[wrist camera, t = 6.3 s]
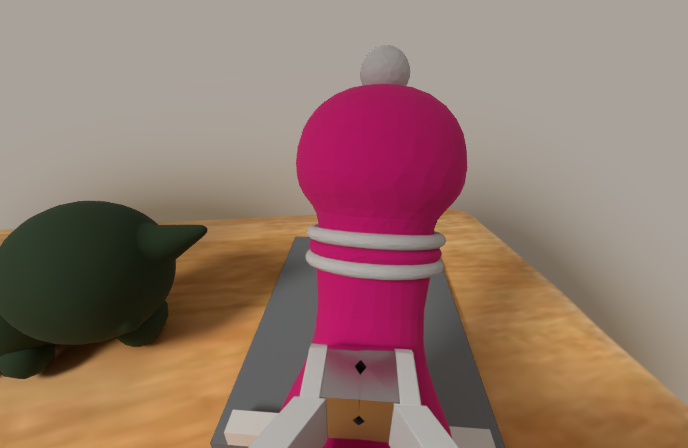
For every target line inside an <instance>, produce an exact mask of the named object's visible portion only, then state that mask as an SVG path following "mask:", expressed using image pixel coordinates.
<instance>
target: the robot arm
mask: <svg viewBox="0 0 688 448" xmlns="http://www.w3.org/2000/svg"><path fill="white" fill-rule="evenodd" d="M327 438H343V439H360V440H369V441H378V442H387V443H389V446H390V448H459V447H458V446H457V445H456V443H455V442H454V441H453V439H452V438H451V437H450V435H449V434H448V433H447V431H446V430H445V429H444V428H443V426H442V425H441V424H440V422H439V421H438V420H437V418H436V417H435V416H434V414H433V413H432V412H431V411H430V409H429V408H428V407H427V406H423V405H421V399H420V393H419V386H418V380H417V373H416V367H415V360H414V354H413V352H412V350H408V349H394V348H377V347H350V346H339V345H327V344H314V343H312V344H311V346H310V348H309V353H308V358H307V362H306V367H305V372H304V377H303V382H302V387H301V391H300V396H294V397H293V398H292V399H291V400H290V402H289V403H288V404H287V405H286V406H285V407H284V408H283V409H282V411H281V412H280V413H279V414H278V415H277V416H276V417H275V418H274V419H273V421H272V422H271V423H270V424H269V425H268V426H267V427H266V428H265V429H264V431H263V432H262V433H261V434H260V435H259V436H258V437H257V438H256V440H255V441H254V442H253V443H252V444H251V445H250V446H249V447H248V448H323V446H324V445H325V443H326V442H327Z"/></svg>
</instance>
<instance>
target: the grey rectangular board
mask: <svg viewBox="0 0 688 448" xmlns="http://www.w3.org/2000/svg"><path fill="white" fill-rule="evenodd" d="M311 240H312V239H311V238H310V237H295V240H294V242H293V244H292V247H291V249H290V252H289V254H288V257H287V259H286V261H285V264H284V266H283V269H282V271H281V273H280V276H279V278H278V281H277V283H276V286H275V288H274V290H273V293H272V295H271V298H270V300H269V302H268V305H267V307H266V310H265V312H264V314H263V317H262V319H261V322H260V324H259V327H258V329H257V331H256V334H255V336H254V339H253V341H252V343H251V346H250V348H249V351H248V353H247V356H246V358H245V360H244V363H243V365H242V368H241V370H240V372H239V375H238V377H237V380H236V382H235V385H234V387H233V389H232V392H231V394H230V397H229V399H228V401H227V404H226V406H225V409H224V411H223V413H222V416H221V418H220V421H219V423H218V426H217V428H216V430H215V433H214V435H213V438H212V440H211V442H210V444H211V447H212V448H248V446H236V445H228V443H227V441H226V438H225V435H224V431H225V428H226V426H227V423H228V421H229V418H230V416H231V413H232V410H245V411H258V412H271V413H279V412H280V410H281V408H282V406H283V404H284V402H285V400H286V397H287V395H288V393H289V391H290V389H291V387H292V385H293V383H294V382H295V380H296V378H297V376H298V375H299V373H300V371H301V369H302V367H303V364H304V362H305V360H306V358H307V356H308V353H309V348H310V346H311V343H312V340H313V336H314V332H315V326H316V317H317V308H318V290H317V270H316V268H315V267H313V266H311V265H310V264H309V263H308V262H307V261H306V253H307V251H308V250H310V247H309V243H310V241H311ZM424 348H425V355H426V361H427V367H428V370H429V373H430V376H431V379H432V382H433V385H434V388H435V391H436V393H437V396H438V399H439V401H440V404H441V407H442V409H443V412H444V414H445V417H446V420H447V422H448V425H449V426H452V427H465V428H478V429H490V432H491V435H492V438H493V441H494V444H495V447H496V448H505V446H504V443H503V440H502V437H501V434H500V432H499V429H498V426H497V423H496V420H495V417H494V414H493V412H492V409H491V406H490V403H489V400H488V397H487V394H486V392H485V389H484V386H483V383H482V380H481V377H480V374H479V372H478V369H477V366H476V363H475V360H474V357H473V354H472V352H471V349H470V346H469V343H468V340H467V337H466V334H465V331H464V329H463V326H462V323H461V320H460V317H459V314H458V311H457V309H456V306H455V303H454V300H453V297H452V294H451V291H450V289H449V286H448V283H447V280H446V277H445V274H444V271H443V270H442V271H441V273H440V274H438V275H435V276H432V277H430V282H429V288H428V293H427V298H426V304H425V309H424Z"/></svg>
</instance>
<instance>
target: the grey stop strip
mask: <svg viewBox="0 0 688 448" xmlns="http://www.w3.org/2000/svg"><path fill="white" fill-rule="evenodd" d="M278 414H279V413H271V412H258V411H245V410H232V413H231V416H230V418H229V421H228V423H227V426H226V428H225V431H224V435H225V438H226V441H227V443H228V445H236V446H248V447H249V446H250V445H251V444H252V443H253V442H254V441H255V440H256V438H257V437H258V436H259V435H260V434H261V433H262V432H263V431H264V429H265V428H266V427H267V426H268V425H269V424H270V423H271V422H272V421H273V419H274V418H275V417H276V416H277V415H278ZM449 428H450V431H451V436H452V439H453V441H454V442H455V443H456V445H457V446H458V447H459V448H496V447H495V444H494V441H493V438H492V435H491V432H490V429H478V428H465V427H452V426H449Z"/></svg>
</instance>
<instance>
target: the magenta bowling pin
mask: <svg viewBox="0 0 688 448" xmlns="http://www.w3.org/2000/svg"><path fill="white" fill-rule="evenodd" d="M360 76H361V81H362V85H363V86H359V87H353V88H350V89H348V90H345V91H343V92H340V93H338V94H336V95H334V96H333V97H331V98H330V99H328V100H327V101H325V102H324V103H323V104H321V105H320V106H319V107H318V108H317V109H316V110H315V112H314V113H313V114H312V116H311V117H310V118H309V120H308V121H307V123H306V125H305V127H304V129H303V132H302V135H301V139H300V142H299V145H298V151H297V160H296V167H297V176H298V181H299V185H300V187H301V189H302V191H303V193H304V194H305V196H306V197H307V199H308V200H309V201H310V203H311V204H312V205H313V207H314V209H315V211H316V213H317V217H318V224H316V225H311V226H310V227H308V229H307V235H308V237H310V238H311V239H312V240H311V241H310V243H309V247H310V250H308V251H307V253H306V261H307V262H308V263H309V264H310V265H311V266H313V267H315V268H316V270H317V290H318V308H317V317H316V326H315V332H314V336H313V340H312V343H314V344H327V345H339V346H350V347H377V348H394V349H408V350H412V352H413V354H414V360H415V367H416V373H417V380H418V386H419V393H420V399H421V405H423V406H427V407H428V408H429V409H430V411H431V412H432V413H433V414H434V416H435V417H436V418H437V420H438V421H439V422H440V424H441V425H442V426H443V428H444V429H445V430H446V431H447V433H448V434H449V435H450V437H451V438H452V436H451V431H450V428H449V425H448V422H447V420H446V417H445V414H444V412H443V409H442V407H441V404H440V401H439V399H438V396H437V393H436V391H435V388H434V385H433V382H432V379H431V376H430V373H429V370H428V367H427V361H426V355H425V348H424V309H425V304H426V298H427V293H428V288H429V282H430V277H432V276H435V275H438V274H440V273H441V271H442V270H443V268H444V264H443V262H442V260H441V259H440V257H441V251H440V249H439V248H440V247H442V246H443V245H444V244H445V242H446V239H445V237H444V235H442V234H440V233H439V232H434V228H435V225H436V223H437V220H438V219H439V218H440V216H441V215H442V214H443V213H444V212H445V211H446V210H447V209H448V208H449V206H450V205H451V204H452V203H453V202H454V201H455V200H456V198H457V197H458V196H459V194H460V193H461V190H462V188H463V186H464V183H465V178H466V172H467V152H466V144H465V139H464V134H463V132H462V130H461V127H460V125H459V123H458V121H457V119H456V118H455V117H454V115H453V114H452V113H451V112H450V110H449V109H448V108H447V106H445V105H444V104H443V103H441V102H440V101H439V100H437V99H436V98H435V97H433V96H432V95H430V94H429V93H426V92H423V91H421V90H418V89H415V88H413V87H407V86H406V85H407V83H408V80H409V78H410V66H409V63H408V60H407V58H406V56H405V54H403V52H402V51H401V50H400V49H398V48H396V47H394V46H389V45H388V46H380V47H377V48H375V49H373V50H372V51H371V52H370V53H369V54H368V55H367V56H366V58H365V59H364V61H363V63H362V67H361V72H360ZM312 343H311V344H312ZM307 358H308V356H307ZM307 358H306V360H305V362H304V364H303V367H302V369H301V371H300V373H299V375H298V376H297V378H296V380H295V382H294V383H293V385H292V387H291V389H290V391H289V393H288V395H287V397H286V400H285V402H284V404H283V406H282V408H281V410H280V412H281V411H282V409H283V408H284V407H285V406H286V405H287V404H288V403H289V402H290V400H291V399H292V398H293V397H294V396H300V391H301V387H302V382H303V377H304V372H305V367H306V362H307ZM280 412H279V413H280ZM323 448H390V446H389V443H387V442H378V441H369V440H360V439H343V438H327V442H326V443H325V445H324V446H323Z"/></svg>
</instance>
